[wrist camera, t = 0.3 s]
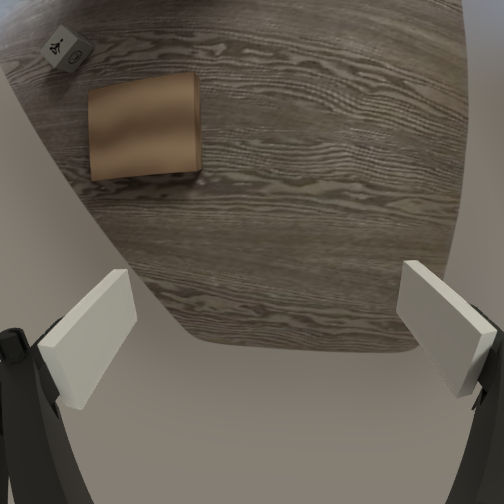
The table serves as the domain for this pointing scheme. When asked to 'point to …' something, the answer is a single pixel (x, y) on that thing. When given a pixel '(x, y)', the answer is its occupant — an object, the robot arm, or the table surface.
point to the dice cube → (66, 49)
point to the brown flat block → (145, 127)
